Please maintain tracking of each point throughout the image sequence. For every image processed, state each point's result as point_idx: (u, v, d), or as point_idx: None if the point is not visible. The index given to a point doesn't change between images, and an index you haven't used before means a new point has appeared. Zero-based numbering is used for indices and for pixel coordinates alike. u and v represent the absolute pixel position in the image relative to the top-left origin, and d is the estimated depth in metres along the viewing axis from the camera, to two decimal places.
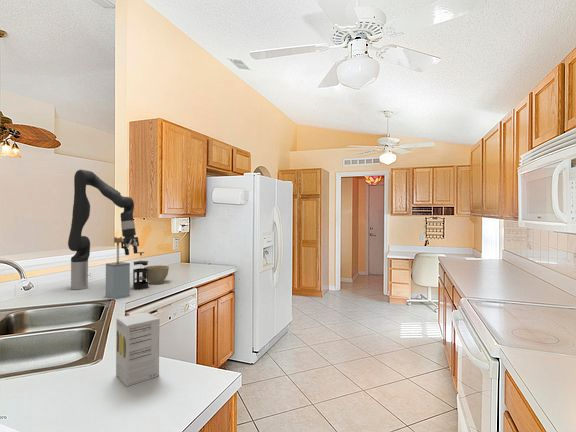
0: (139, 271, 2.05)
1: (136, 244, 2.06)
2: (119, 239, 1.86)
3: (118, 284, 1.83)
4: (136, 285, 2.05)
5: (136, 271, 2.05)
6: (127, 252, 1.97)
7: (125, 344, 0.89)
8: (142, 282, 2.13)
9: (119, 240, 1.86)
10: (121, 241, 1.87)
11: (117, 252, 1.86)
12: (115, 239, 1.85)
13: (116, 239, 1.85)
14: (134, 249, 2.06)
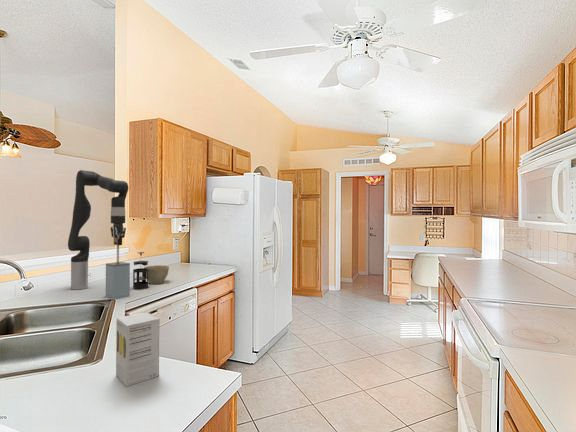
0: (139, 271, 2.05)
1: None
2: None
3: (118, 284, 1.83)
4: (136, 285, 2.05)
5: (136, 271, 2.05)
6: (121, 242, 1.86)
7: (125, 344, 0.89)
8: (142, 282, 2.13)
9: None
10: None
11: (117, 252, 1.86)
12: (115, 239, 1.85)
13: (116, 239, 1.85)
14: None
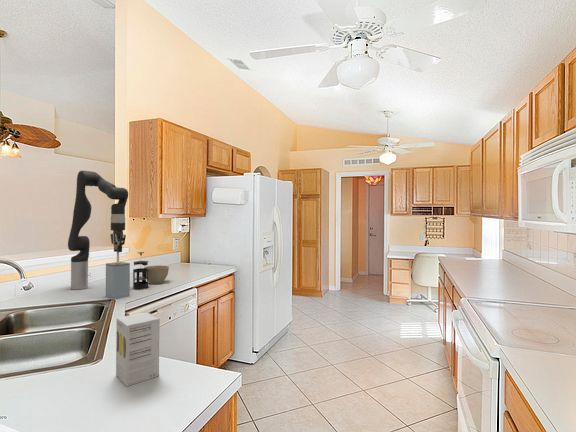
0: (139, 271, 2.05)
1: None
2: None
3: (118, 284, 1.83)
4: (136, 285, 2.05)
5: (136, 271, 2.05)
6: (121, 249, 1.86)
7: (125, 344, 0.89)
8: (142, 282, 2.13)
9: None
10: None
11: (117, 259, 1.86)
12: (115, 246, 1.85)
13: (116, 246, 1.85)
14: None
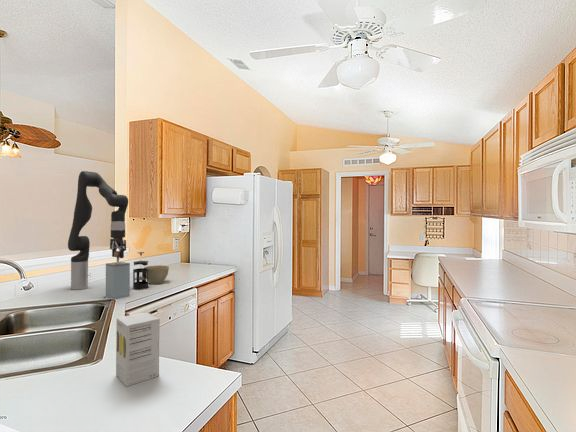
0: (139, 271, 2.05)
1: (116, 247, 1.91)
2: None
3: (118, 284, 1.83)
4: (136, 285, 2.05)
5: (136, 271, 2.05)
6: None
7: (125, 344, 0.89)
8: (142, 282, 2.13)
9: None
10: None
11: None
12: (115, 253, 1.85)
13: (116, 254, 1.85)
14: None
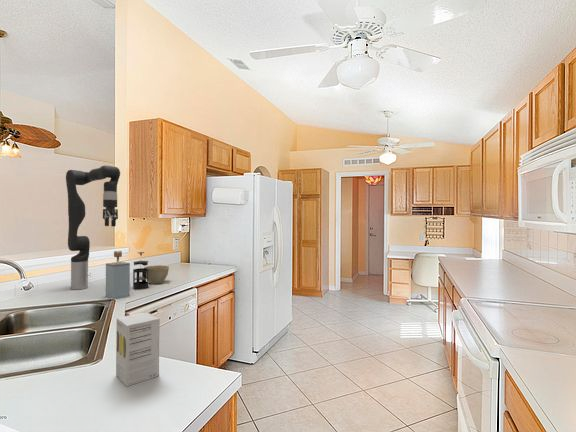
0: (139, 271, 2.05)
1: (108, 216, 1.99)
2: (119, 253, 1.86)
3: (118, 284, 1.83)
4: (136, 285, 2.05)
5: (136, 271, 2.05)
6: None
7: (125, 344, 0.89)
8: (142, 282, 2.13)
9: (119, 254, 1.86)
10: (121, 255, 1.87)
11: None
12: (115, 253, 1.85)
13: (116, 254, 1.85)
14: (106, 221, 1.97)
